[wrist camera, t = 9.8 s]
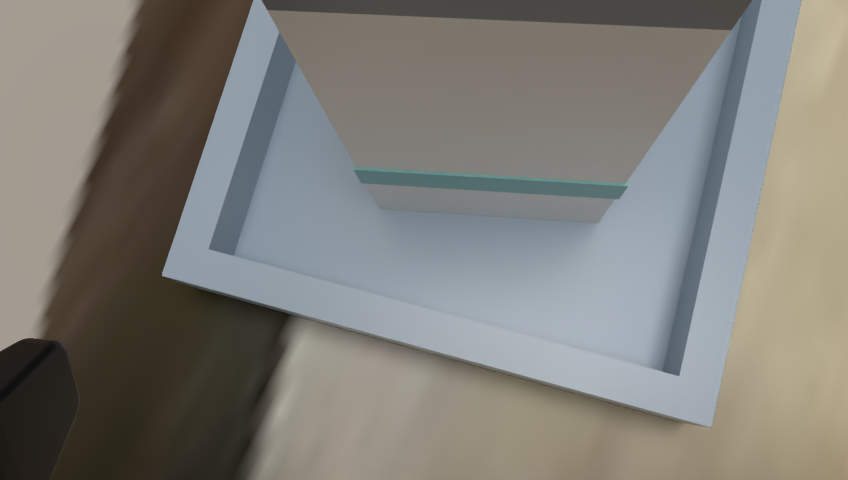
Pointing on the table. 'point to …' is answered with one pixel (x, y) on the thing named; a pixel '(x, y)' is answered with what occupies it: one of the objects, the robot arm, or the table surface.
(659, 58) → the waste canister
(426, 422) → the table surface
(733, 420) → the table surface
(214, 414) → the table surface
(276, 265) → the drip tray
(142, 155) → the table surface
